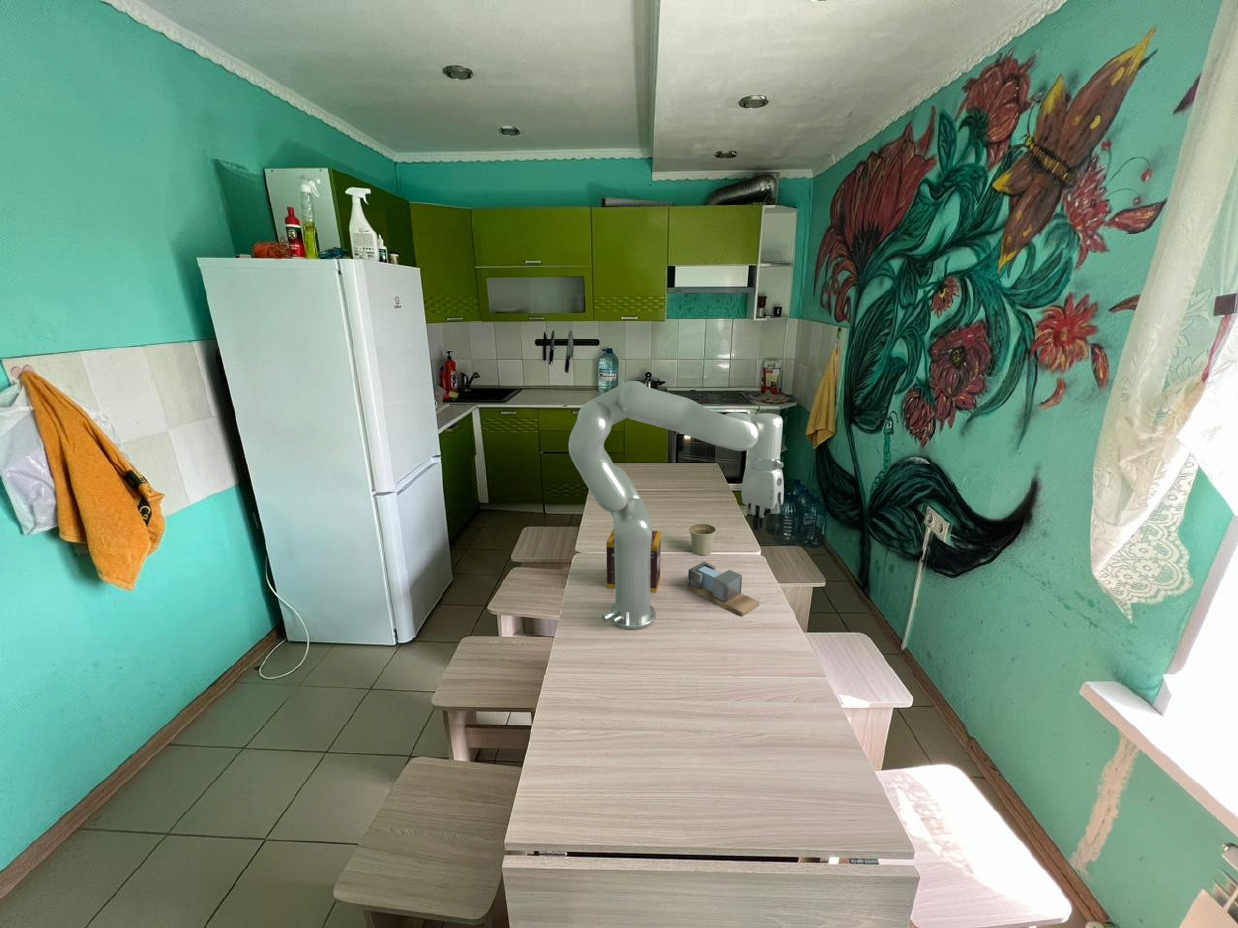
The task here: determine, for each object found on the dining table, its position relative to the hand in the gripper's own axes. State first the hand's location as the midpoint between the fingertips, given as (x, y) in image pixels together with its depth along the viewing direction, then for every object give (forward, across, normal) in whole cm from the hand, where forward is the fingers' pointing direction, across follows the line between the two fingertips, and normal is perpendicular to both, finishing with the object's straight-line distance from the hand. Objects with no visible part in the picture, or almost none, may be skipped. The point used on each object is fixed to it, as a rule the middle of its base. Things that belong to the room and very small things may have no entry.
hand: (758, 528), depth 137 cm
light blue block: (+24, +14, 0) cm, 27 cm away
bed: (+25, +10, 0) cm, 27 cm away
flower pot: (+25, +33, -18) cm, 45 cm away
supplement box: (+25, +34, +13) cm, 44 cm away
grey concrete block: (+24, +9, 0) cm, 25 cm away
